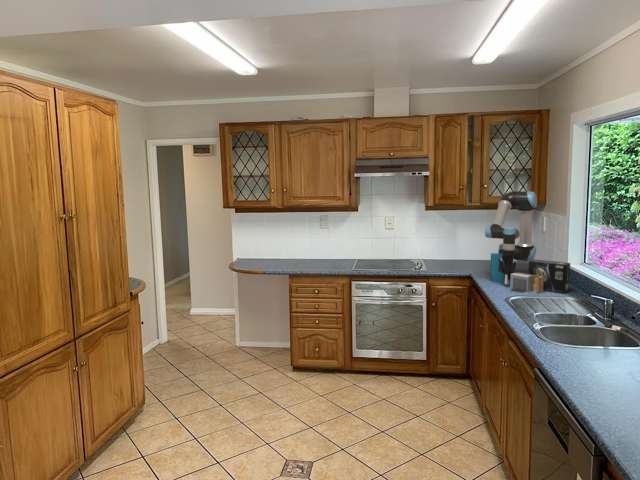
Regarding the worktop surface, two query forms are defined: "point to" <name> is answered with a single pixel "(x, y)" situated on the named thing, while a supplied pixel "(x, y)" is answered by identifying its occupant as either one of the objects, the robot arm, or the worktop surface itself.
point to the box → (551, 274)
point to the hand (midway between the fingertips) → (506, 283)
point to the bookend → (519, 285)
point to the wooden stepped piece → (536, 283)
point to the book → (522, 276)
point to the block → (496, 268)
